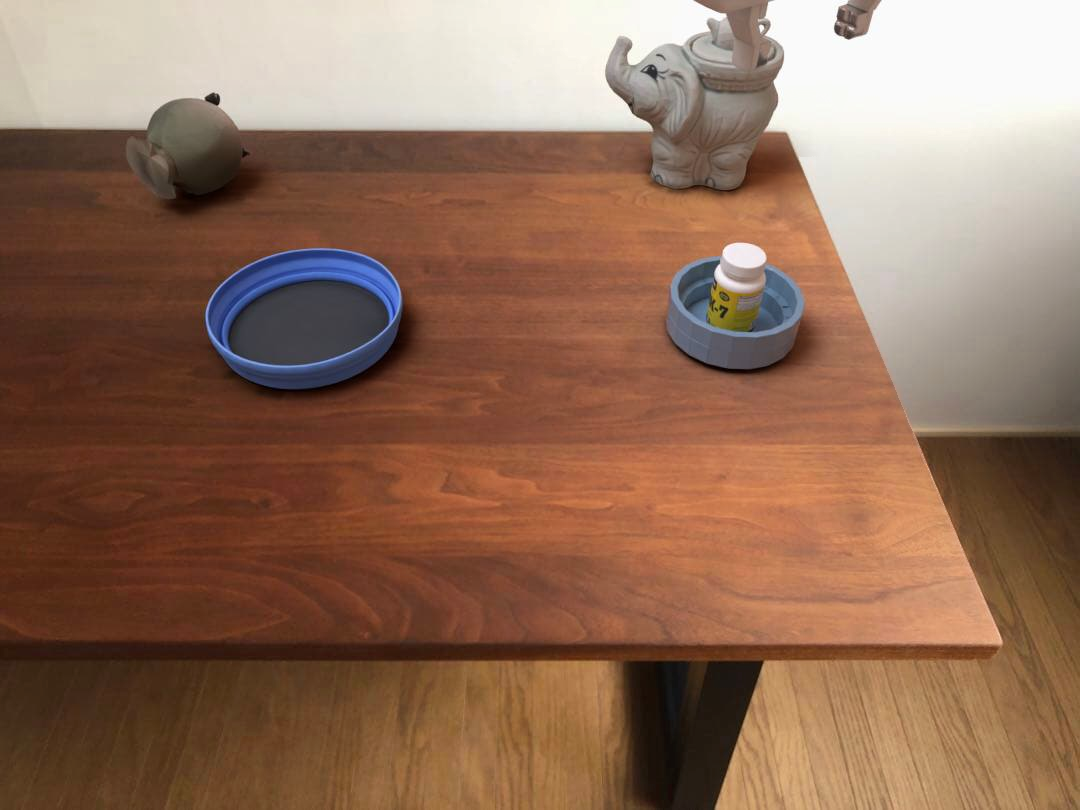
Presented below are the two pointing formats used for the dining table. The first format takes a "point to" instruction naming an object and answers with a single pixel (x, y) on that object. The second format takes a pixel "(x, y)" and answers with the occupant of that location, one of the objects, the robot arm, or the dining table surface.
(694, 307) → the blue bowl
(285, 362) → the bowl
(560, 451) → the dining table surface
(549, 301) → the dining table surface
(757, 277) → the supplement bottle
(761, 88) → the grey elephant figurine
